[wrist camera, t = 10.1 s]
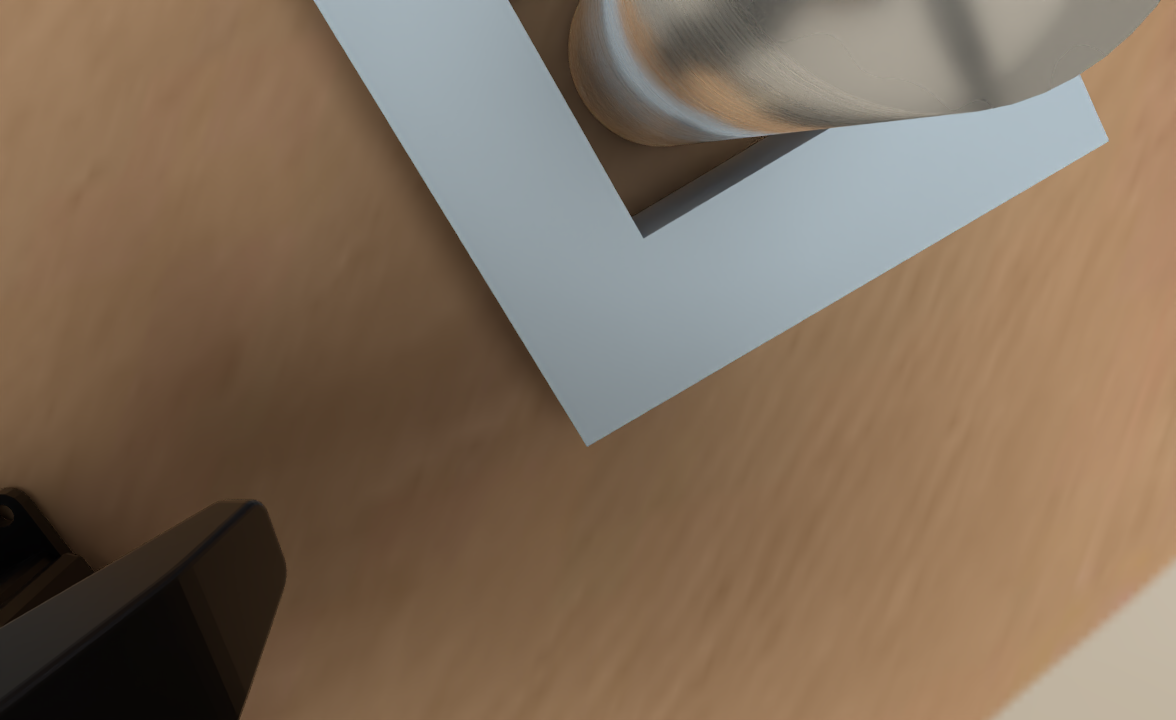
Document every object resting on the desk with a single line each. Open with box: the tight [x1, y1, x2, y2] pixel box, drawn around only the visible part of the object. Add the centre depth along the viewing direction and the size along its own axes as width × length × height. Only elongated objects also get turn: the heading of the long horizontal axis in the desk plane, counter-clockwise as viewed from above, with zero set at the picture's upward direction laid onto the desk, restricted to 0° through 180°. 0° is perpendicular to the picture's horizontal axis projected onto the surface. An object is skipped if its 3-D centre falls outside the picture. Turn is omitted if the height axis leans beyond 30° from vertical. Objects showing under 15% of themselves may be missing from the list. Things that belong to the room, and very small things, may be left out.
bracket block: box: [314, 0, 1109, 447], centre depth 19 cm, size 11×11×4 cm
